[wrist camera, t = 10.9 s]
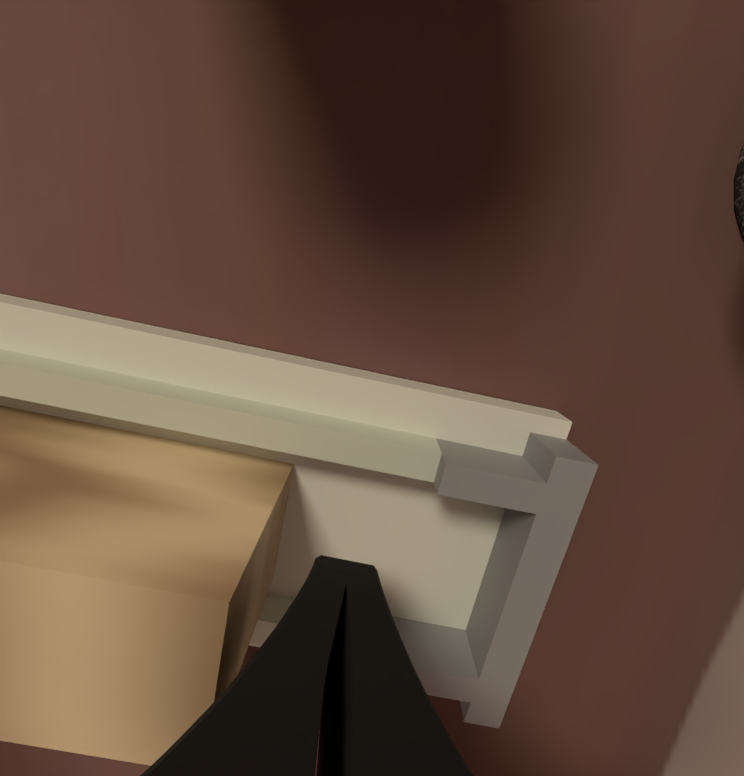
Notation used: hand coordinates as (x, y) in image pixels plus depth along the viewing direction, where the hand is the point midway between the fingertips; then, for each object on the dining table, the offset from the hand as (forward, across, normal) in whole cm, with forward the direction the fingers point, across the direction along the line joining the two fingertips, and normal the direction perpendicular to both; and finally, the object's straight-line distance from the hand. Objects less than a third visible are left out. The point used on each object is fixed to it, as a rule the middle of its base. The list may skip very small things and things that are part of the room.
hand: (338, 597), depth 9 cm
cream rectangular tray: (+3, +4, 0) cm, 5 cm away
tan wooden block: (+2, +7, 0) cm, 8 cm away
